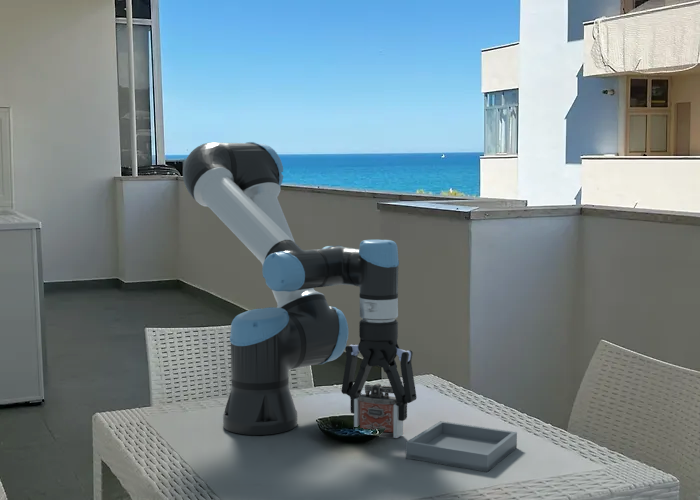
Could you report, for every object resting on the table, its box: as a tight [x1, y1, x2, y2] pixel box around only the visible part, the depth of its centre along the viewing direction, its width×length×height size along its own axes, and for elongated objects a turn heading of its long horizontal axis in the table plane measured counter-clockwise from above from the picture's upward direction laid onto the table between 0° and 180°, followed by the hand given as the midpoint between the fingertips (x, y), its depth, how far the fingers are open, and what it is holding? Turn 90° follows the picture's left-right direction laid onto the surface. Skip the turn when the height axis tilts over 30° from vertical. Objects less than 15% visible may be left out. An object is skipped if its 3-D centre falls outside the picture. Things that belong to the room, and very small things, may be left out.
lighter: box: [359, 383, 397, 439], centre depth 183 cm, size 8×3×10 cm, turn 68°
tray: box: [405, 420, 518, 473], centre depth 172 cm, size 16×16×3 cm
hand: (378, 432), depth 184 cm, fingers closed on lighter, 8 cm apart
